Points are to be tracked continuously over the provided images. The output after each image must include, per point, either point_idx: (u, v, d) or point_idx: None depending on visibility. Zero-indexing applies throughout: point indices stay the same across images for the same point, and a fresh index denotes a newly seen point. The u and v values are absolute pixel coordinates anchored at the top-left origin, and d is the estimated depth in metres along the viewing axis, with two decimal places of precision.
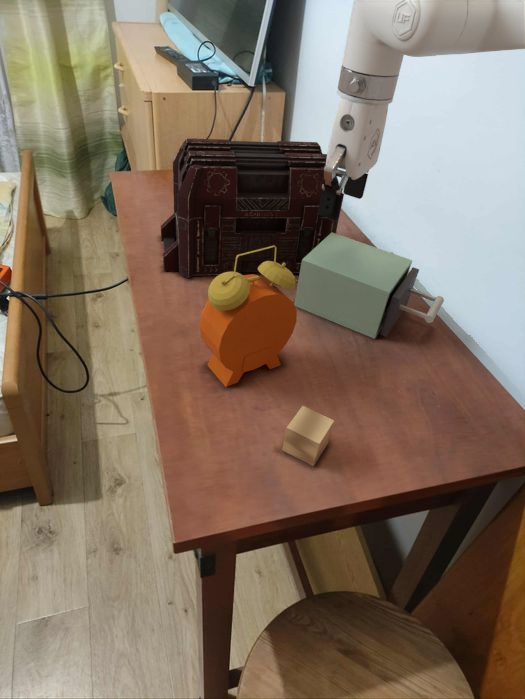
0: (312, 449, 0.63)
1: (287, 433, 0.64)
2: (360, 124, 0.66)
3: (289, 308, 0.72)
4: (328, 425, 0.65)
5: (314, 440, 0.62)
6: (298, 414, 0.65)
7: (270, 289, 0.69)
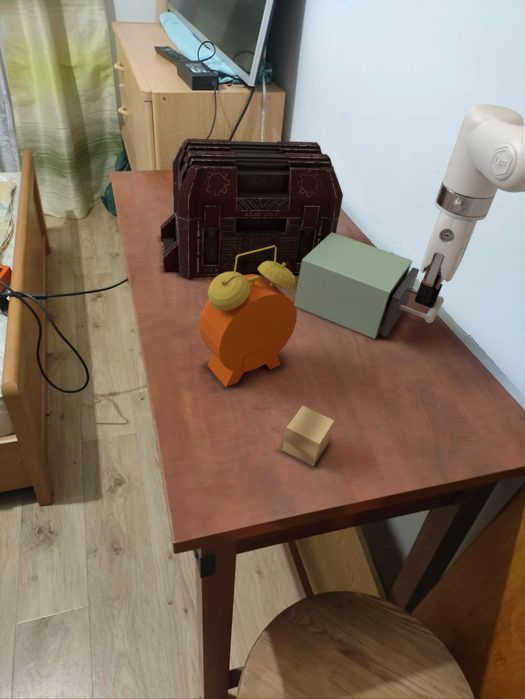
0: (312, 449, 0.63)
1: (287, 433, 0.64)
2: (459, 238, 0.72)
3: (289, 309, 0.72)
4: (328, 425, 0.65)
5: (314, 440, 0.62)
6: (298, 414, 0.65)
7: (270, 289, 0.69)
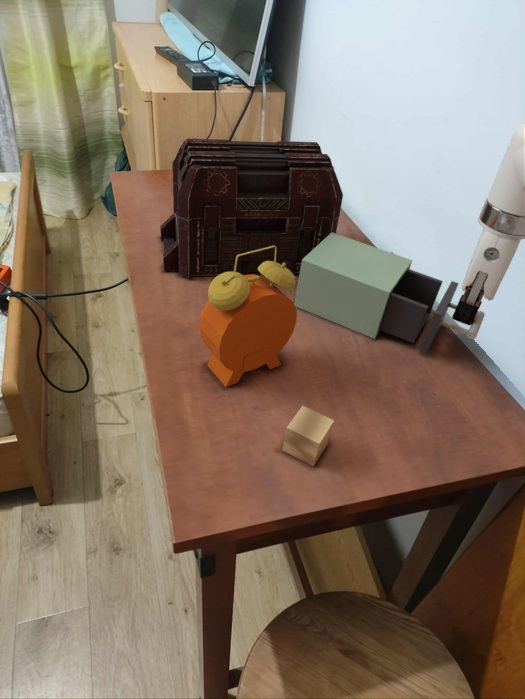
0: (312, 449, 0.63)
1: (287, 433, 0.64)
2: (505, 257, 0.70)
3: (289, 309, 0.72)
4: (328, 425, 0.65)
5: (314, 440, 0.62)
6: (298, 414, 0.65)
7: (270, 289, 0.69)
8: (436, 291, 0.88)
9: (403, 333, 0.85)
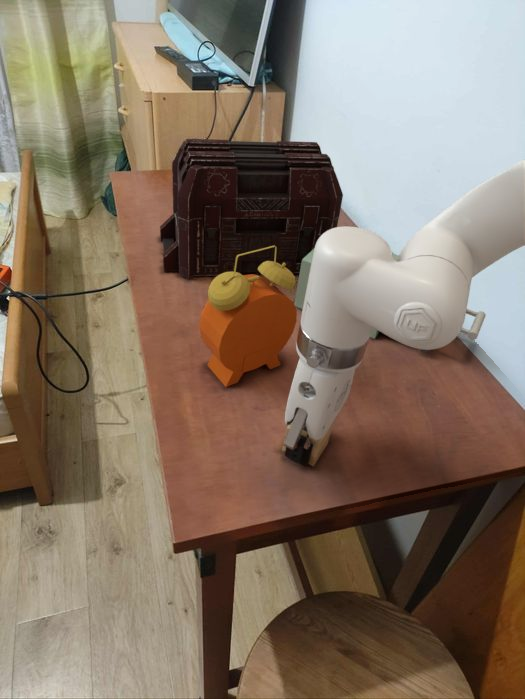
0: (312, 449, 0.63)
1: (287, 433, 0.64)
2: (322, 395, 0.54)
3: (289, 309, 0.72)
4: None
5: (314, 440, 0.62)
6: None
7: (270, 289, 0.69)
8: None
9: None
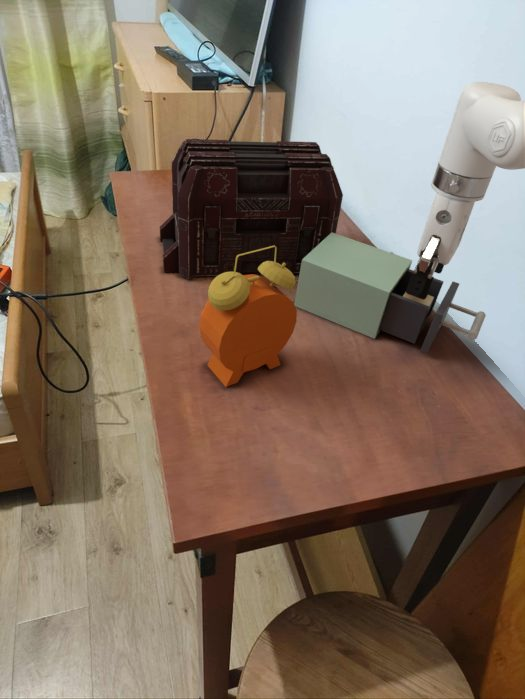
0: None
1: None
2: (456, 220, 0.71)
3: (289, 309, 0.72)
4: (430, 299, 0.86)
5: None
6: None
7: (270, 289, 0.69)
8: (437, 291, 0.88)
9: (404, 333, 0.85)
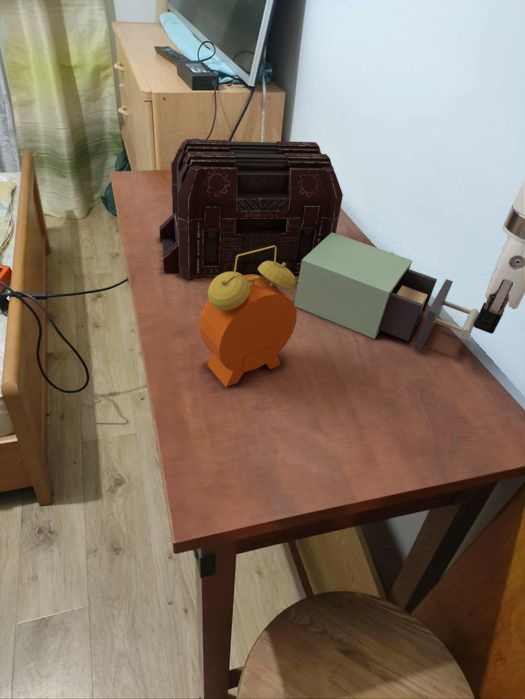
0: None
1: None
2: None
3: (289, 309, 0.72)
4: (423, 297, 0.86)
5: None
6: (400, 290, 0.87)
7: (270, 289, 0.69)
8: (430, 289, 0.88)
9: (397, 331, 0.85)
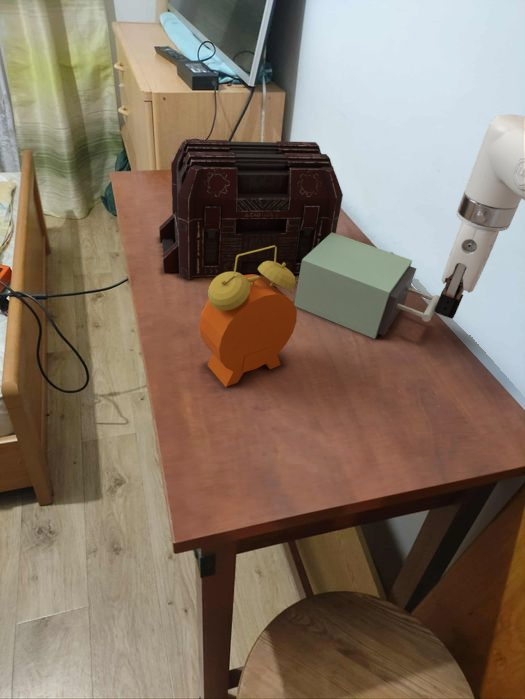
0: None
1: None
2: (482, 249, 0.71)
3: (289, 308, 0.72)
4: None
5: None
6: None
7: (270, 289, 0.69)
8: None
9: None
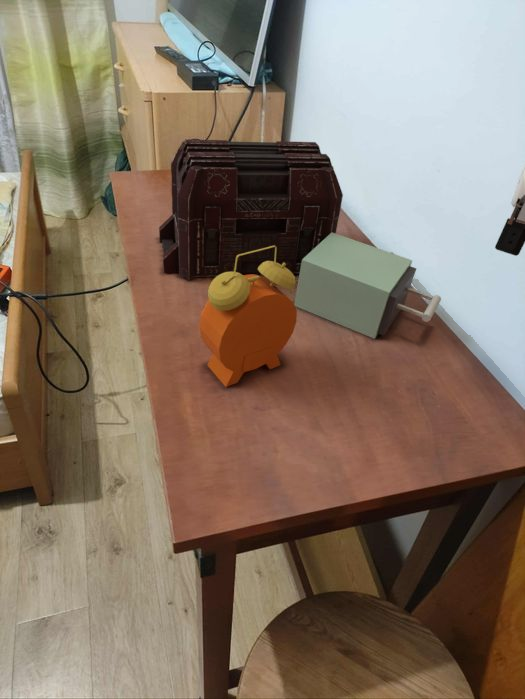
0: None
1: None
2: None
3: (289, 308, 0.72)
4: None
5: None
6: None
7: (270, 289, 0.69)
8: None
9: None
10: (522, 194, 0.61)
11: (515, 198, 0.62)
